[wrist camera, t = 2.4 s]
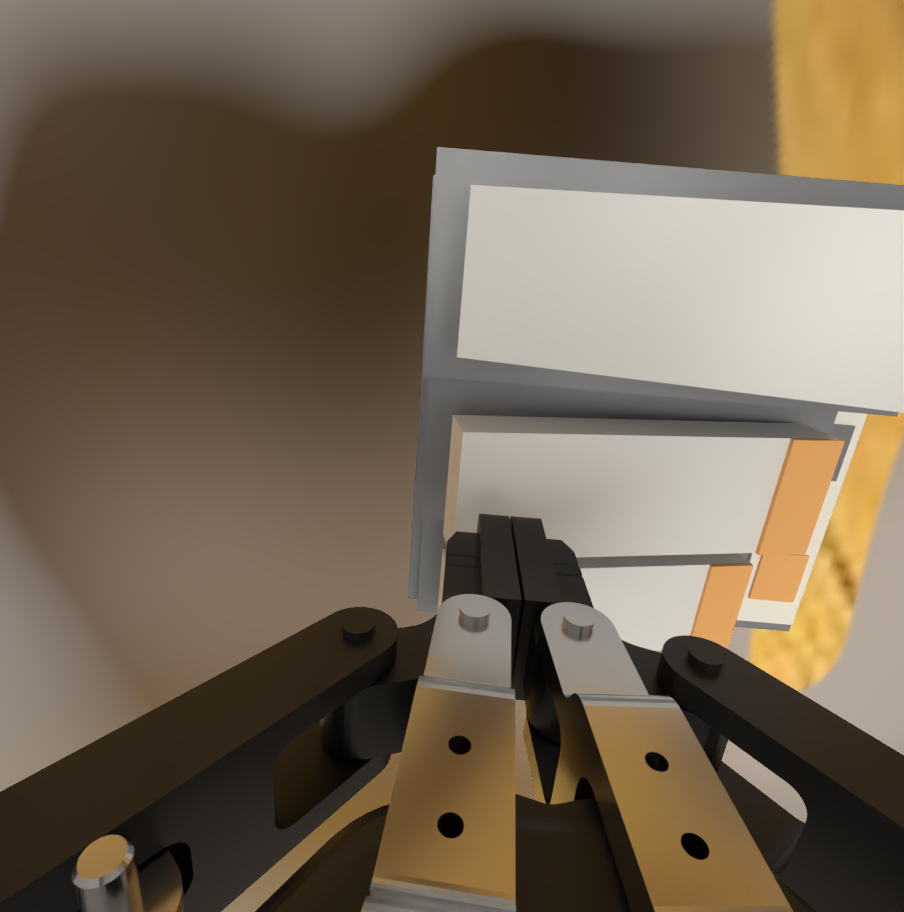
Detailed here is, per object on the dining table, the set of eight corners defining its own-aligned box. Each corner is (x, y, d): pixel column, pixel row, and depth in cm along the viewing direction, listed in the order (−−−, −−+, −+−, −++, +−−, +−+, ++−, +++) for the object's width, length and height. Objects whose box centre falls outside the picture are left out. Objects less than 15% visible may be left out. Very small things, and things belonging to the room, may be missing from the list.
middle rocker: (452, 414, 16) (464, 434, 15) (801, 423, 19) (845, 440, 17) (442, 534, 18) (452, 563, 16) (768, 528, 20) (805, 554, 18)
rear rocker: (442, 548, 21) (450, 574, 19) (725, 542, 23) (753, 565, 21) (435, 635, 22) (442, 666, 21) (702, 621, 24) (727, 648, 23)
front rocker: (483, 192, 14) (469, 183, 13) (1032, 226, 12) (1100, 221, 10) (470, 348, 16) (455, 358, 14) (957, 406, 13) (1007, 427, 12)
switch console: (435, 178, 21) (413, 136, 13) (911, 218, 21) (1174, 198, 13) (410, 583, 27) (386, 717, 19) (775, 615, 27) (897, 762, 19)
